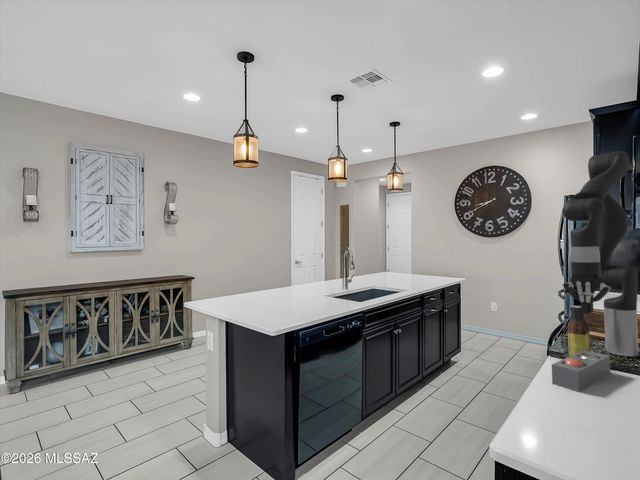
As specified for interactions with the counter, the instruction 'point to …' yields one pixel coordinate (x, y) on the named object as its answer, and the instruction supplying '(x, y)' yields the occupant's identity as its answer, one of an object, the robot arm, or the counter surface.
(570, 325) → the sauce bottle
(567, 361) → the red button
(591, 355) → the steel button
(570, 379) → the button panel
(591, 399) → the counter surface
